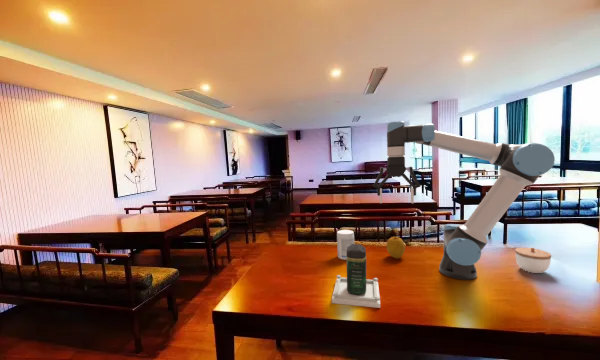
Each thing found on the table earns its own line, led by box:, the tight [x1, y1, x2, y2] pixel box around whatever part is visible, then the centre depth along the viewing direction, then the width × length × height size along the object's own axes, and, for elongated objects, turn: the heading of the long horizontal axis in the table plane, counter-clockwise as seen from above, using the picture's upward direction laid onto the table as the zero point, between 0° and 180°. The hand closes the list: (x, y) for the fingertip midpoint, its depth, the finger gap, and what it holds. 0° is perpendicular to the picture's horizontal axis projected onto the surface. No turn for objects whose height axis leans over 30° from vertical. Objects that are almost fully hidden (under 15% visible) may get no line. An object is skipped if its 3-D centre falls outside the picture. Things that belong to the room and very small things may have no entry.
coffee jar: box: [346, 243, 367, 295], centre depth 107 cm, size 10×8×19 cm
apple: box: [386, 236, 406, 260], centre depth 145 cm, size 10×10×12 cm
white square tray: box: [331, 274, 381, 309], centre depth 108 cm, size 18×18×3 cm
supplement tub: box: [336, 229, 355, 261], centre depth 148 cm, size 10×10×15 cm
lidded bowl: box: [514, 247, 552, 274], centre depth 123 cm, size 13×13×11 cm
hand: (396, 202), depth 120 cm, fingers open, 13 cm apart
